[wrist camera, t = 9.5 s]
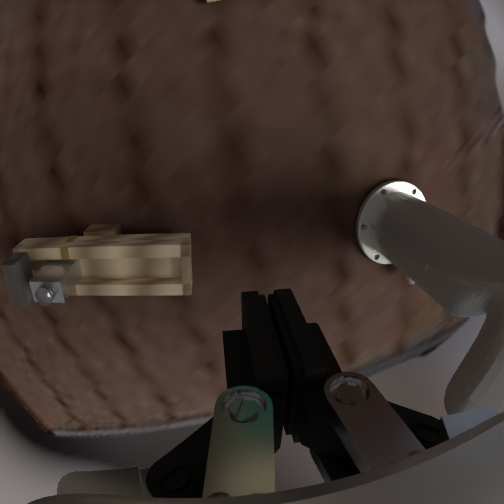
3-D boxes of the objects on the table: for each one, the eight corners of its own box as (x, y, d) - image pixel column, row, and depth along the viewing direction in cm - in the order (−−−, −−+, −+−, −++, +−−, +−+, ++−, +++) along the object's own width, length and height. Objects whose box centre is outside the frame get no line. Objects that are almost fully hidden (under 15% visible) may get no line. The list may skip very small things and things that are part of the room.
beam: (191, 220, 37) (188, 253, 28) (192, 272, 40) (191, 316, 31) (34, 227, 34) (-4, 257, 25) (44, 273, 36) (13, 312, 27)
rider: (78, 257, 31) (56, 287, 25) (82, 276, 32) (61, 308, 26) (50, 258, 31) (24, 286, 24) (54, 276, 32) (31, 306, 25)
